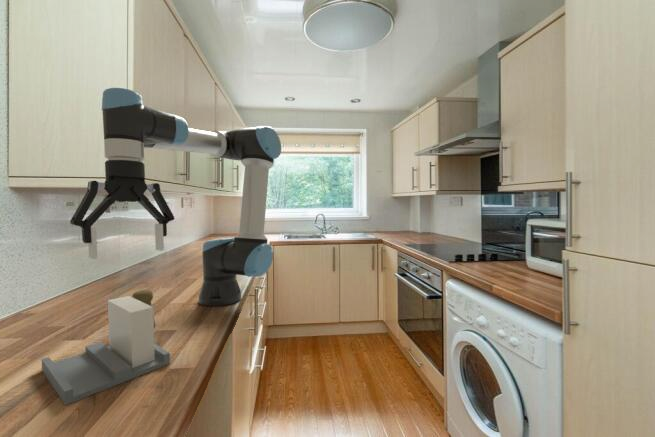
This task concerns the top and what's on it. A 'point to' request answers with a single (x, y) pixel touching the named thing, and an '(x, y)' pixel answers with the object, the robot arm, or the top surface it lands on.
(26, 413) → the top surface
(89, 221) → the robot arm
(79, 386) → the grey grooved stand
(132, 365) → the clay block
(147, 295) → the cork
